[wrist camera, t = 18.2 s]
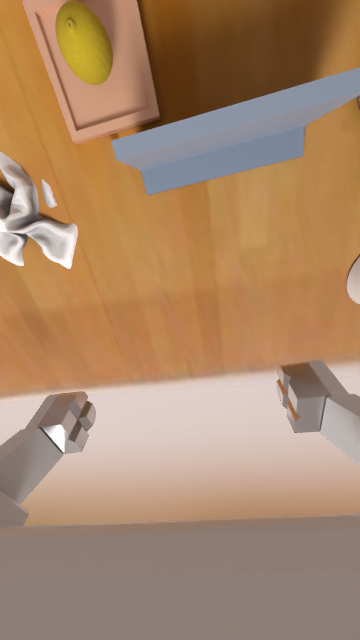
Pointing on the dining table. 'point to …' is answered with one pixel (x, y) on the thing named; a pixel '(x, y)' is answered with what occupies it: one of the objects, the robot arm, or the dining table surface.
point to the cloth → (30, 219)
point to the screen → (234, 135)
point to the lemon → (84, 42)
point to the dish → (123, 82)
